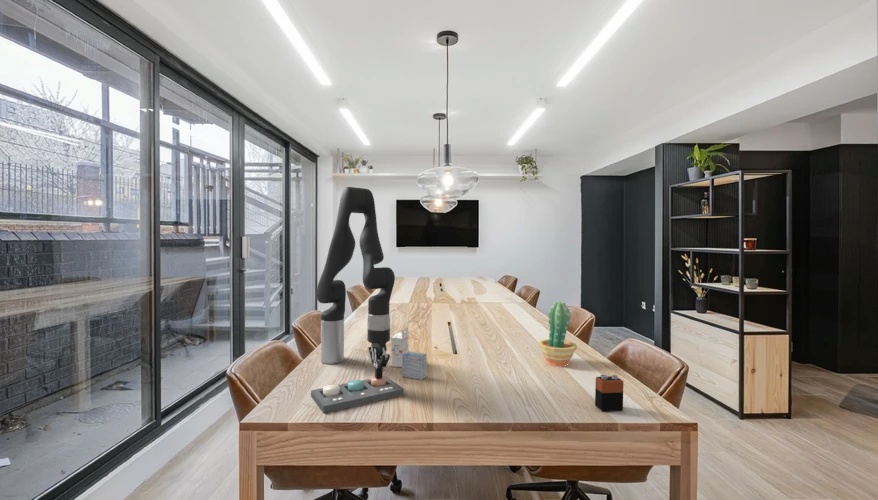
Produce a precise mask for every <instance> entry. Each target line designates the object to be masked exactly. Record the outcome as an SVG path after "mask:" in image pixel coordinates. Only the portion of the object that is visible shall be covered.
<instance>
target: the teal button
mask: <svg viewBox="0 0 878 500" xmlns="http://www.w3.org/2000/svg"><path fill="white" fill-rule="evenodd" d="M347 383H348V391H349V392H355V391H359V390H364V382H363V381H362V379H354V380H353V379H352V380H349V381H348V382H347Z"/></svg>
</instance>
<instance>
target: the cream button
mask: <svg viewBox="0 0 878 500" xmlns="http://www.w3.org/2000/svg"><path fill="white" fill-rule="evenodd" d="M338 385H339V384H328V385H325V386H323V387H322V388H323V397H324V398H326V397H330V396H335V395H340V387H339V386H338Z"/></svg>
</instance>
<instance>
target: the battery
mask: <svg viewBox="0 0 878 500" xmlns="http://www.w3.org/2000/svg"><path fill="white" fill-rule="evenodd" d="M594 387H595V390H594V391H595V393H594V396H595V397H594V400H595V401H594V404H595V407H596V408H597V409H598V410H600V411H601V412H621V411H623V410H624V380H622V378H619V376H618V375H616V374H613V375H611V376H610V375H609V376H608V375H607V374H601V375H600V376H596V377H595V386H594Z"/></svg>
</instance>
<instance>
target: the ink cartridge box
mask: <svg viewBox="0 0 878 500" xmlns="http://www.w3.org/2000/svg"><path fill="white" fill-rule="evenodd" d="M390 341H391V344H390V345H391V348H390V349H391V350H390V352H391V355H390V358H391V360H390V361H391V365H390V366H391V367H393V368H403V354H404V353H405V352H407V351H409V327H408V326H406V327H404V328H402V329H401V332H397V333H395V334H394V335H393V336H392V337H391V336H390Z"/></svg>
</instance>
